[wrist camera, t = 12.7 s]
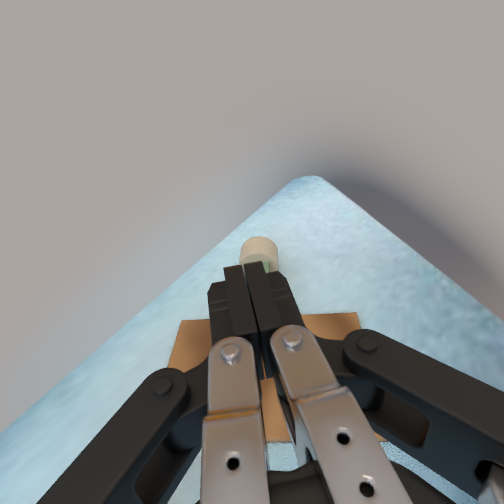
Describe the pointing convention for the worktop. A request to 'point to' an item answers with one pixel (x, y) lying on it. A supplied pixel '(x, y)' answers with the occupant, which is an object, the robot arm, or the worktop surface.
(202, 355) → the brown flat board
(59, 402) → the worktop surface
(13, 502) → the worktop surface
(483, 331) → the worktop surface
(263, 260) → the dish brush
